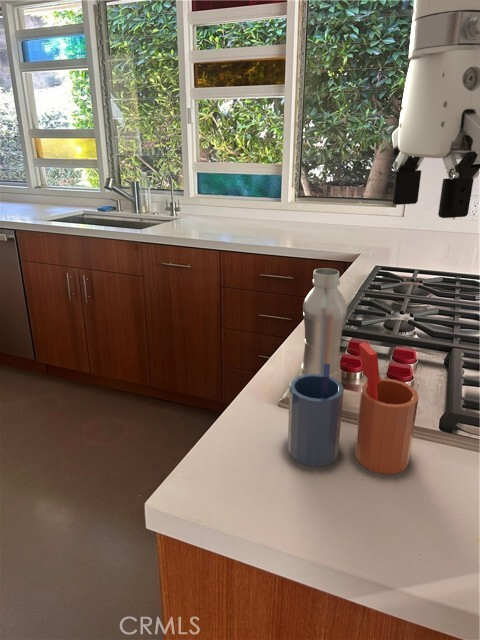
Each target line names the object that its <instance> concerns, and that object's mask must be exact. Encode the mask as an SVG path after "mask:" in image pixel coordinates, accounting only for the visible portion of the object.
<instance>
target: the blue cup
mask: <svg viewBox="0 0 480 640" xmlns="http://www.w3.org/2000/svg"><path fill="white" fill-rule="evenodd" d="M322 382H323V375H322V374H306V375H301V376H296V377H294V378H293V379H292V380H291V381H290V382H289V390H288V391H289V393H288V422H287V423H288V424H287V425H288V427H287V430H288V431H287V452H288V455H289V456H290V457H291V458H292V459H293V460H294V461H295V462H296V463H298V464H301V465H302V466H305V467H306V466H307V467H310V468H311V467H312V468H322V467H326V466H329V465H331V464H333V463H334V462H335V461H336V460H337V458H338V456H339V449H340V438H341V426H342V425H341V424H342V413H343V400H344V386H343V384H342V382H341V383H340V382H339V381H338V380H336V379H334V378H332V377H329V386H328V393H329V396H328V398H321V392H322Z"/></svg>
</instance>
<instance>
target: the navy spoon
mask: <svg viewBox="0 0 480 640" xmlns="http://www.w3.org/2000/svg"><path fill="white" fill-rule="evenodd" d="M329 371H330V364H324V368H323V382H322V392H321V398H328V396H329V393H328V386H329Z"/></svg>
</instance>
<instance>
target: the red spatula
mask: <svg viewBox="0 0 480 640" xmlns="http://www.w3.org/2000/svg"><path fill="white" fill-rule="evenodd" d="M358 347H359V354H360V362H361V363H360V364H361V372H362V374H363V375H364V376H365V377H366V382H367V385H368V393H369V396H370V397H372V398H374V399H375V400H377V401H378V395H377V384H380V379H381V377H380V368H379V359H378V353H377V352H376V350H375V349H373V348H372V347H371V346H370V344H368V343H367V342H366V341H364V342H361V343H359V344H358Z"/></svg>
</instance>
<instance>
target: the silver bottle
mask: <svg viewBox="0 0 480 640" xmlns="http://www.w3.org/2000/svg"><path fill="white" fill-rule="evenodd" d="M312 278H313V279H312V285H313V288H312V289H311V290H310V291H309V293H308V294H307V295H306V297H305V298H304V299H303V300H304V301H303V304H302V313H303V323H304V324H303V325H304V350H303V356H302V364H301V365H300V370H299V374H298V375H299V376H301V375H306V374H322V375H323V368H324V364H330V371H329V377H332V378H334V379H336V380H338V381H339V382H340V383H341V384H342V371H341V342H342V336H343V329H344V326H345V322H346V317H347V313H348V305H347V304H348V303H347V301H346V298H345V297H344V296H343V294H342V293H341V291H340V289H339V286H340V285H341V283H340V282H341V281H340V271H339V270H337V269H336V268H335V269H334V268H327V267H322V268H316V269H314V270H313V276H312ZM299 376H298V377H299Z"/></svg>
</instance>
